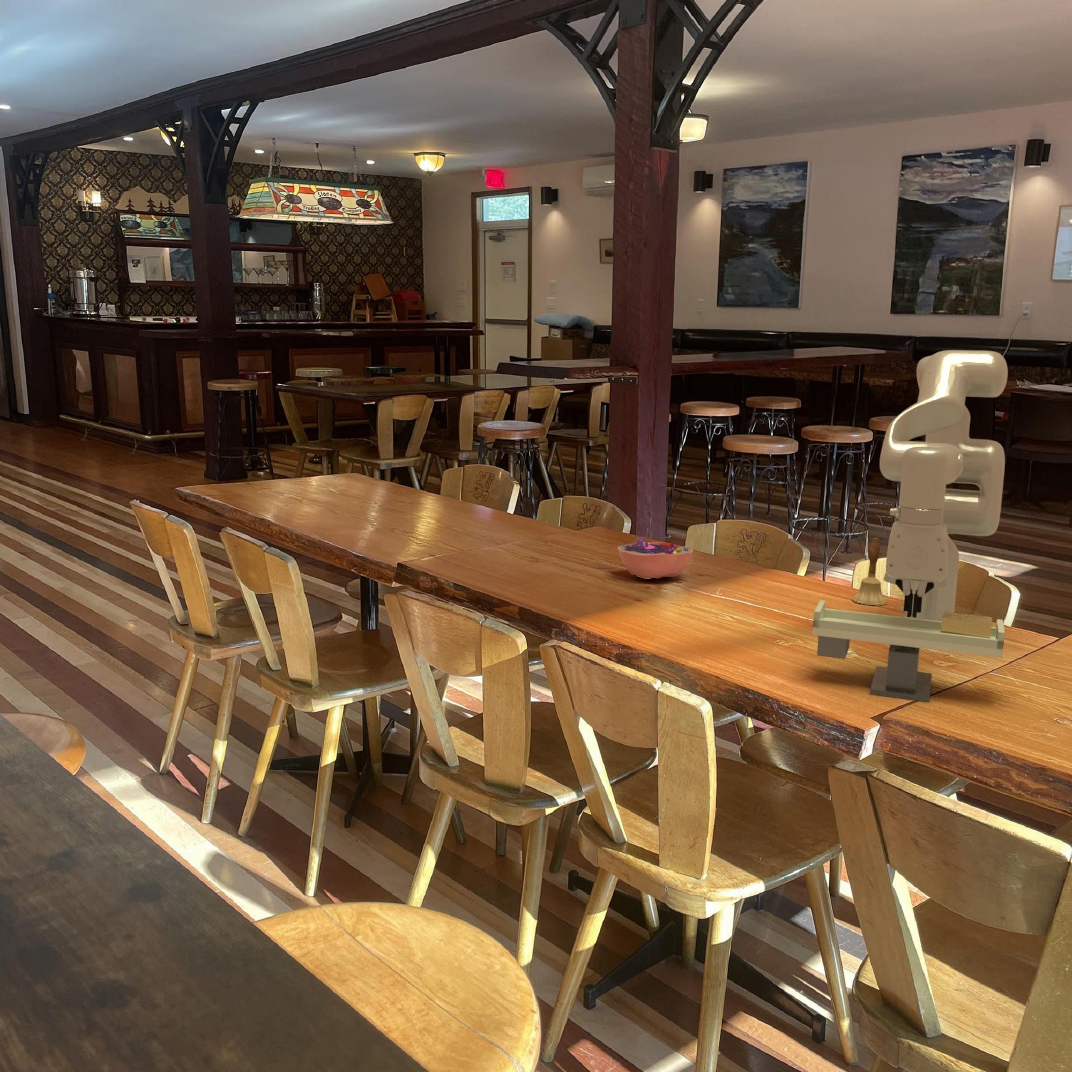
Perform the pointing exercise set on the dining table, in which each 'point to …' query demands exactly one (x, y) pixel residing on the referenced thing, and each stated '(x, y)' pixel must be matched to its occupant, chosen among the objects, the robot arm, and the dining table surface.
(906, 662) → the pivot stand
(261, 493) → the dining table surface
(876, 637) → the balance beam
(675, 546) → the cell model
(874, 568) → the hand bell
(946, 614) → the block
